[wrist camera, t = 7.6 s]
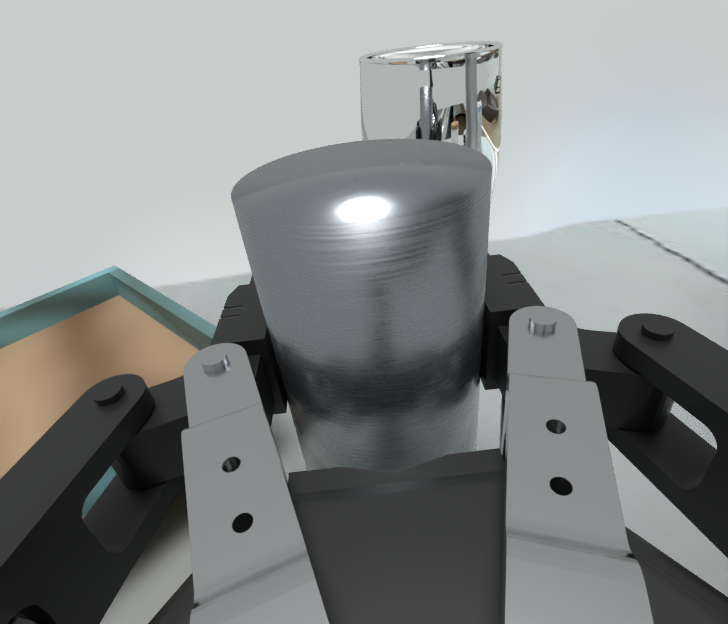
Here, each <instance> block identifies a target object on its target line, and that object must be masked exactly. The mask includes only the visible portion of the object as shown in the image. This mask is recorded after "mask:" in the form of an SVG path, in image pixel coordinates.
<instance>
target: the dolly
mask: <svg viewBox="0 0 728 624" xmlns="http://www.w3.org/2000/svg"><path fill="white" fill-rule="evenodd" d="M216 328H217V327H216V326H214V325H212V324H211V323H209V322H207V321H206V320H204V319H202V318H201V317H199V316H198V315H196V314H194V313H193V312H191V311H189V310H188V309H186V308H184V307H183V306H181V305H179V304H178V303H176V302H174V301H173V300H171V299H169V298H168V297H166V296H164V295H163V294H161V293H159V292H158V291H156V290H154V289H153V288H151V287H149V286H148V285H146V284H144V283H143V282H141V281H139V280H138V279H136V278H134V277H133V276H131V275H130V274H128V273H126V272H125V271H123V270H121V269H120V268H118V267H116V266H112V267H110V268H107V269H105V270H102V271H100V272H97V273H95V274H92V275H90V276H88V277H85V278H83V279H80V280H78V281H75V282H73V283H71V284H68V285H66V286H63V287H61V288H58V289H56V290H54V291H51V292H49V293H46V294H44V295H42V296H39V297H37V298H34V299H32V300H29V301H27V302H24V303H22V304H19V305H17V306H15V307H12V308H10V309H7V310H5V311H2V312H0V479H1V478H2V477H3V476H4V475H5V474H6V473H7V472H8V471H9V470H10V469H11V467H12V466H13V465H14V464H15V463H16V462H17V461H18V460H19V459H20V458H21V457H22V456H23V455H24V454H25V453H26V452H27V451H28V450H29V449H30V448H31V447H32V446H33V445H34V444H35V443H36V442H37V441H38V440H39V439H40V438H41V437H42V436H43V435H44V434H45V433H46V431H47V430H48V429H49V428H50V427H51V426H52V425H53V424H54V423H55V422H56V421H57V420H58V419H59V418H60V417H61V416H62V415H63V414H64V413H65V412H66V411H67V410H68V409H69V408H70V407H71V406H72V405H73V404H74V403H75V402H76V401H77V400H78V399H79V398H80V397H81V396H82V394H84V393H85V392H86V391H87V390H88V389H89V388H91V387H92V386H94V385H95V384H97V383H99V382H101V381H102V380H105V379H107V378H110V377H113V376H116V375H121V374H135V375H138V376H140V377H142V378H143V379H144V381H145V383H146V385H147V387H148V388H149V387H152V386H155V385H158V384H161V383H164V382H167V381H170V380H173V379H176V378H178V377H180V376H183V369H184V366H185V364H186V362H187V361H188V360H189V359H190V358H191V357H192V356H193V355H194V354H196V353H197V352H199V351H200V350H202V349H204V348H206V347H209V346H210V344H211V341H212V339H213V336H214V333H215V330H216ZM115 475H116V472H115V471H114V469H113V468H112V466H110V467H109V469H108V470H107V471H106V473H105V474H104V475H103V477H102V478H101V479H100V480H99V482H98V483H97V484H96V486H95V487H94V488H93V490H92V491H91V492H90V494H89V495H88V496H87V498H86V500H85V502H84V505H83V509H82V519H83V518H84V517H85V516H86V514H87V513H88V512H89V510H90V509H91V508H92V506H93V505H94V503H95V502H96V501H97V499H98V498H99V497H100V495H101V494H102V493H103V491H104V490H105V489H106V487H107V486H108V485H109V483H110V482H111V481H112V479H113V478H114V476H115Z"/></svg>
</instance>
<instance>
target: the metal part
mask: <svg viewBox="0 0 728 624" xmlns="http://www.w3.org/2000/svg"><path fill="white" fill-rule="evenodd" d="M491 180H492V165H491V162H490V160H489V159H488V158H487V157H486V156H485V155H483V154H482V153H481V152H479V151H477V150H475V149H472V148H469V147H467V146H463V145H459V144H455V143H450V142H445V141H437V140H426V139H378V140H366V141H356V142H349V143H342V144H335V145H330V146H325V147H320V148H315V149H311V150H307V151H303V152H299V153H296V154H292V155H289V156H286V157H283V158H280V159H277V160H275V161H272V162H270V163H267V164H266V165H263V166H261V167H259V168H257V169H255V170H253V171H251V172H250V173H248V174H247V175H245V176H244V177H243V178H242V179H240V180H239V181H238V182H237V184H236V185H235V186H234V188H233V190H232V193H231V198H232V203H233V206H234V210H235V213H236V217H237V220H238V224H239V228H240V231H241V235H242V238H243V242H244V246H245V249H246V253H247V256H248V260H249V264H250V267H251V271H252V274H253V278H254V281H255V285H256V289H257V292H258V296H259V299H260V303H261V307H262V310H263V314H264V317H265V321H266V324H267V328H268V332H269V335H270V339H271V342H272V346H273V350H274V353H275V357H276V360H277V364H278V367H279V371H280V375H281V378H282V382H283V385H284V389H285V393H286V396H287V400H288V403H289V407H290V410H291V414H292V418H293V421H294V425H295V428H296V432H297V436H298V439H299V443H300V446H301V450H302V454H303V457H304V461H305V464H306V468H307V471H310V470H318V469H327V468H335V467H346V468H355V469H364V470H373V471H382V472H393V473H394V472H400V471H403V470H406V469H408V468H411V467H414V466H417V465H420V464H422V463H425V462H428V461H431V460H434V459H436V458H439V457H442V456H445V455H447V454H456V453H464V452H473V451H476V439H477V422H478V405H479V388H480V370H481V353H482V336H483V318H484V301H485V284H486V267H487V249H488V232H489V214H490V198H491Z"/></svg>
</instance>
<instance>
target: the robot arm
mask: <svg viewBox="0 0 728 624" xmlns="http://www.w3.org/2000/svg"><path fill="white" fill-rule="evenodd" d="M480 378H481V381H482V383H483V386H484V388H485V390H489V389H497V388H499V389H500V391H501V393H502V401H501V415H500V438H499V449H490V450H481V451H473V452H464V453H456V454H447V455H445V456H442V457H439V458H436V459H434V460H431V461H428V462H425V463H422V464H420V465H417V466H414V467H411V468H408V469H406V470H403V471H400V472H394V473H393V472H382V471H373V470H364V469H355V468H346V467H335V468H327V469H318V470H310V471H301V472H292V473H289V480H287V477H286V474H285V471H284V468H283V464H282V461H281V458H280V455H279V452H278V448H277V445H276V442H275V439H274V436H273V433H272V430H271V424H272V417H273V414H280V413H286V409H287V396H286V393H285V389H284V385H283V382H282V378H281V375H280V371H279V367H278V364H277V360H276V357H275V353H274V350H273V346H272V342H271V339H270V335H269V332H268V328H267V324H266V321H265V317H264V314H263V310H262V307H261V303H260V299H259V296H258V292H257V289H256V285H255V281H254V278H253V274H252V278H251V281H250V284H248V285H240V286H238V287H237V288H236V289H235V290H234V291H233V292H232V293H231V294H230V295H229V296H228V298H227V300H226V303H225V306H224V310H223V311H222V314H221V319H220V320H219V322H218V325H217V328H216V330H215V333H214V336H213V339H212V341H211V344H210V346H209V347H206V348H204V349H202V350H200V351H199V352H197V353H196V354H194V355H193V356H192V357H191V358H190V359H189V360H188V361H187V362H186V364H185V366H184V369H183V376H180V377H178V378H176V379H173V380H170V381H167V382H164V383H161V384H158V385H155V386H152V387H149V388H148V387H147V385H146V383H145V381H144V379H143V378H142V377H140V376H138V375H135V374H121V375H116V376H113V377H110V378H107V379H105V380H102V381H101V382H99V383H97V384H95V385H94V386H92V387H91V388H89V389H88V390H87V391H86V392H85V393H84V394H82V396H81V397H80V398H79V399H78V400H77V401H76V402H75V403H74V404H73V405H72V406H71V407H70V408H69V409H68V410H67V411H66V412H65V413H64V414H63V415H62V416H61V417H60V418H59V419H58V420H57V421H56V422H55V423H54V424H53V425H52V426H51V427H50V428H49V429H48V430H47V431H46V433H45V434H44V435H43V436H42V437H41V438H40V439H39V440H38V441H37V442H36V443H35V444H34V445H33V446H32V447H31V448H30V449H29V450H28V451H27V452H26V453H25V454H24V455H23V456H22V457H21V458H20V459H19V460H18V461H17V462H16V463H15V464H14V465H13V466H12V467H11V469H10V470H9V471H8V472H7V473H6V474H5V475H4V476H3V477H2V478H1V479H0V624H99V623H100V622H101V620H102V618H103V617H104V615H105V613H106V612H107V610H108V608H109V607H110V605H111V603H112V601H113V600H114V598H115V596H116V595H117V593H118V591H119V590H120V588H121V586H122V585H123V583H124V581H125V580H126V578H127V576H128V574H129V573H130V571H131V569H132V568H133V566H134V564H135V563H136V561H137V559H138V558H139V556H140V554H141V552H142V551H143V549H144V547H145V546H146V544H147V542H148V541H149V539H150V537H151V536H152V534H153V532H154V531H155V529H156V527H157V525H158V524H159V522H160V520H161V519H162V517H163V515H164V514H165V512H166V510H167V509H168V507H169V505H170V504H171V502H172V500H173V498H174V497H175V495H176V493H177V492H178V490H179V488H180V487H181V485H182V483H183V482H184V480H185V488H186V500H187V512H188V524H189V536H190V548H191V560H192V572H193V573H192V574H191V575H190V576H189V577H188V578H187V580H186V581H185V582H184V583H183V584H182V585H181V586H180V588H179V589H178V590H177V591H176V592H175V593H174V595H173V596H172V597H171V598H170V599H169V600H168V601H167V603H166V604H165V605H164V606H163V607H162V608H161V610H160V611H159V612H158V613H157V614H156V615H155V616H154V618H153V619H152V620H151V621H150V622H149V623H148V624H728V597H727V596H725V595H724V594H722V593H721V592H719V591H718V590H716V589H715V588H714V587H712V586H711V585H709V584H708V583H706V582H705V581H703V580H702V579H701V578H699V577H698V576H696V575H695V574H693V573H692V572H690V571H689V570H688V569H686V568H685V567H683V566H682V565H680V564H679V563H677V562H676V561H674V560H673V559H672V558H670V557H669V556H667V555H666V554H664V553H663V552H661V551H660V550H659V549H657V548H656V547H654V546H653V545H651V544H650V543H648V542H647V541H646V540H644V539H643V538H641V537H640V536H638V535H637V534H635V533H634V532H632V531H631V530H630V529H628V528H627V527H625V524H624V519H623V514H622V509H621V504H620V499H619V494H618V489H617V484H616V479H615V474H614V468H613V463H612V458H611V453H610V448H609V443H608V440H609V441H610V442H611V443H612V444H613V445H614V446H615V447H616V448H617V449H618V450H619V451H620V452H621V453H622V454H623V455H624V456H625V457H626V458H627V459H628V460H629V461H630V462H631V463H632V464H633V465H634V466H635V467H636V468H637V469H638V470H639V471H640V472H641V473H642V474H643V475H644V476H645V477H646V478H647V479H648V480H649V481H651V482H652V483H653V484H654V485H655V486H656V487H657V488H658V489H659V490H660V491H661V492H662V493H663V494H664V495H665V496H666V497H667V498H668V499H669V500H670V501H671V502H672V503H673V504H674V505H675V506H676V507H677V508H678V509H679V510H680V511H681V512H682V513H683V514H684V515H685V516H686V517H687V518H688V519H689V520H690V521H691V522H692V523H693V524H694V525H695V526H696V527H697V528H698V529H699V530H700V531H701V532H702V533H703V534H704V535H705V536H706V537H707V538H708V539H709V540H710V541H711V542H712V543H713V544H714V545H715V546H716V547H717V548H718V549H719V550H720V551H721V552H722V553H723V554H724V555H725V556H726V557H727V558H728V350H726V349H724V348H723V347H721V346H719V345H718V344H716V343H715V342H713V341H711V340H710V339H708V338H706V337H705V336H703V335H701V334H700V333H698V332H696V331H695V330H693V329H691V328H690V327H688V326H686V325H685V324H683V323H681V322H679V321H677V320H675V319H672V318H669V317H666V316H662V315H656V314H634V315H630V316H627V317H625V318H624V319H622V320H621V322H620V323H619V326H618V330H617V333H616V332H604V331H592V330H584V329H579V328H577V326H576V323H575V321H574V320H573V319H572V318H571V317H570V316H569V315H568V314H566V313H564V312H563V311H560V310H558V309H555V308H551V307H545V305H544V304H543V303H542V301H541V300H540V299H539V297H538V296H537V294H536V293H535V292H534V290H533V289H532V287H531V286H530V285H529V283H527V282H526V279H525V278H524V276H523V275H522V274H521V272H520V271H519V269H518V268H517V267H516V265H515V264H514V262H512V261H510V260H509V259H507V258H505V257H503V256H502V255H500V254H499V255H491V256H490V255H489V254H488V252H487V267H486V284H485V301H484V318H483V336H482V353H481V370H480ZM674 401H675V402H676V403H677V404H679V405H680V406H681V407H683V408H684V409H685V410H686V411H688V412H689V413H690V414H692V415H693V416H694V417H696V418H697V419H698V420H699V421H701V422H702V423H703V424H704V425H706V426H707V427H708V428H709V429H710V431H711V432H712V434H713V435H714V437H715V439H716V442H717V450H716V449H715V448H714V447H712V446H711V445H710V444H709V443H707V442H706V441H705V440H704V439H702V438H701V437H700V436H699V435H698V434H696V433H695V432H694V431H693V430H691V429H690V428H689V427H688V426H686V425H685V424H684V423H683V422H681V421H680V420H679V419H678V418H676V417H675V416H674V415H673V414H671V413H670V410H671V408H672V405H673V403H674ZM110 466H112V468H113V469H114V471H115V472H116V475H115V476H114V478H113V479H112V481H111V482H110V483H109V485H108V486H107V487H106V489H105V490H104V491H103V493H102V494H101V495H100V497H99V498H98V499H97V501H96V502H95V503H94V505H93V506H92V508H91V509H90V510H89V512H88V513H87V514H86V516H85V517H84V518H83V519H82V509H83V505H84V502H85V500H86V498H87V496H88V495H89V494H90V492H91V491H92V490H93V488H94V487H95V486H96V484H97V483H98V482H99V480H100V479H101V478H102V477H103V475H104V474H105V473H106V471H107V470H108V469H109V467H110Z"/></svg>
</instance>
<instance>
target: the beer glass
mask: <svg viewBox="0 0 728 624" xmlns="http://www.w3.org/2000/svg"><path fill="white" fill-rule="evenodd" d="M501 51H502V43H500V42H490V41H478V42H476V41H475V42H456V43H444V44H432V45H423V46H414V47H406V48H399V49H392V50H386V51H381V52H375V53H370V54H367V55H363V56H362V57H360V58H359V61H360V80H361V127H362V141H366V140H378V139H426V140H437V141H445V142H450V143H455V144H459V145H463V146H467V147H469V148H472V149H475V150H477V151H479V152H481V153H482V154H483V155H485V156H486V157H487V158H488V159H489V160H490V162H491V165H492V180H491V198H490V203H491V199H492V194H493V190H494V185H495V179H496V174H497V169H498V160H499V151H500V141H501V119H502V77H501V53H502V52H501Z"/></svg>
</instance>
